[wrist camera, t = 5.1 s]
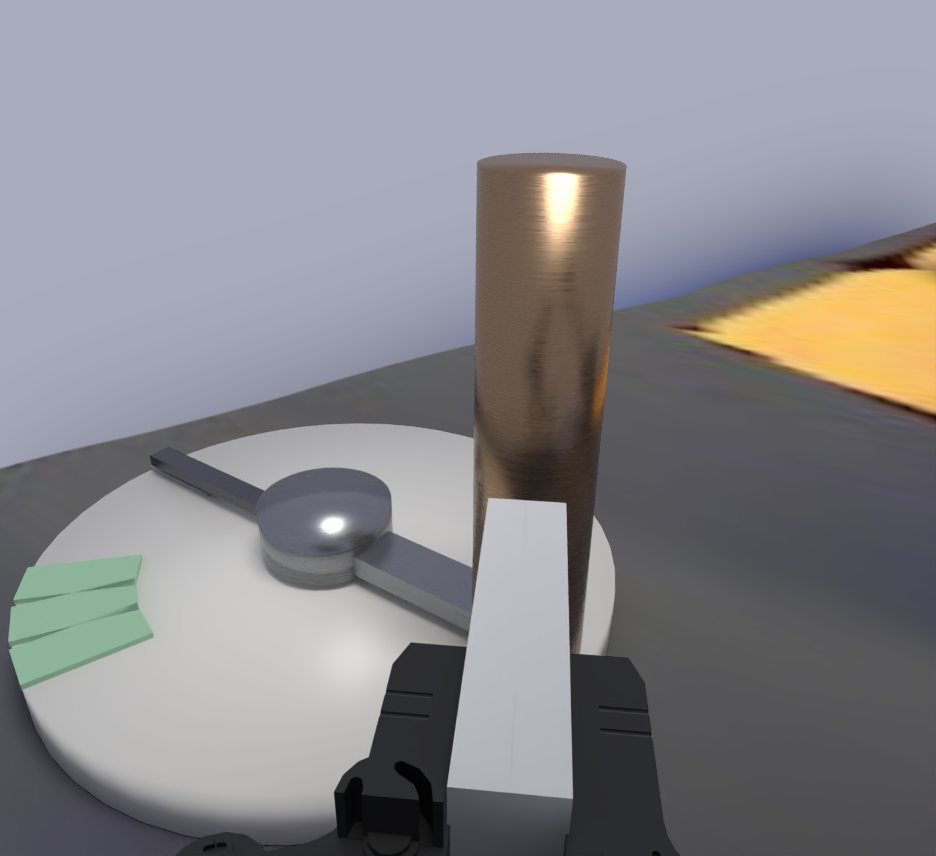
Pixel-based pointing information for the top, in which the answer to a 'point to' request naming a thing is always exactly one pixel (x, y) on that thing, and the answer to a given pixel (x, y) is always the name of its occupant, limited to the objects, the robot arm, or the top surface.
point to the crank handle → (481, 398)
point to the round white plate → (238, 636)
